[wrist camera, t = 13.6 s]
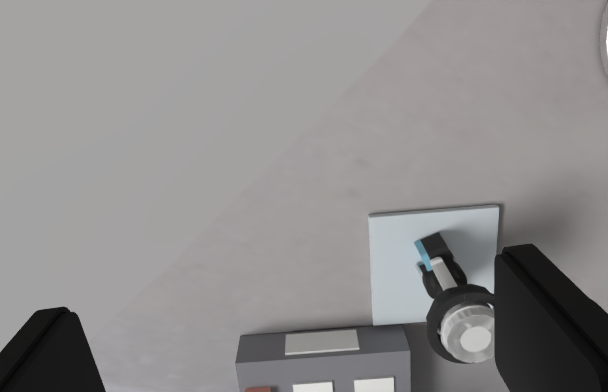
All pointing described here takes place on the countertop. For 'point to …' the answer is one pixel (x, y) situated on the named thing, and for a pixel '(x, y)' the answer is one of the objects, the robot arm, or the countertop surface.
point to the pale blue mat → (403, 256)
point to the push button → (455, 306)
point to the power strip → (326, 361)
